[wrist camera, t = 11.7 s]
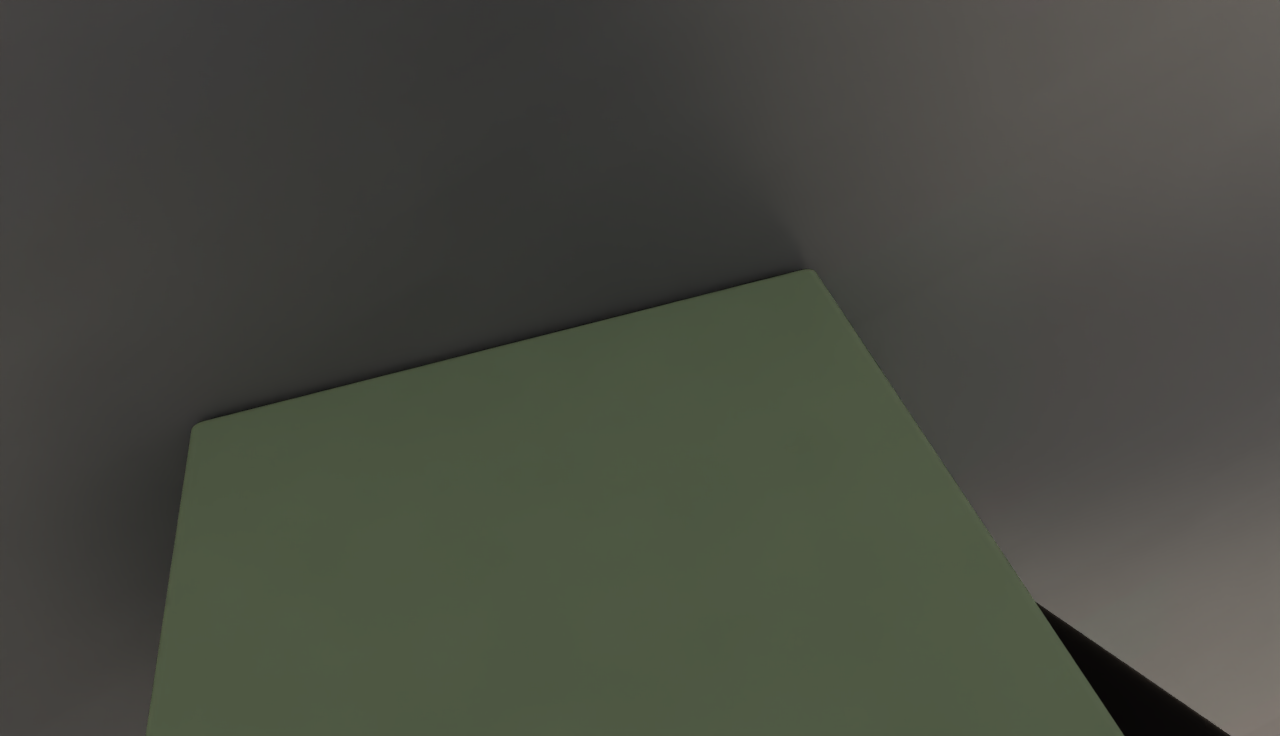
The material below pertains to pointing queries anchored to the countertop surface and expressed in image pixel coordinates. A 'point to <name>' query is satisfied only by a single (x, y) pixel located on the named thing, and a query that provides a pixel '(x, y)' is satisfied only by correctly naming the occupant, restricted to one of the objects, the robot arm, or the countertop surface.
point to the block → (604, 549)
